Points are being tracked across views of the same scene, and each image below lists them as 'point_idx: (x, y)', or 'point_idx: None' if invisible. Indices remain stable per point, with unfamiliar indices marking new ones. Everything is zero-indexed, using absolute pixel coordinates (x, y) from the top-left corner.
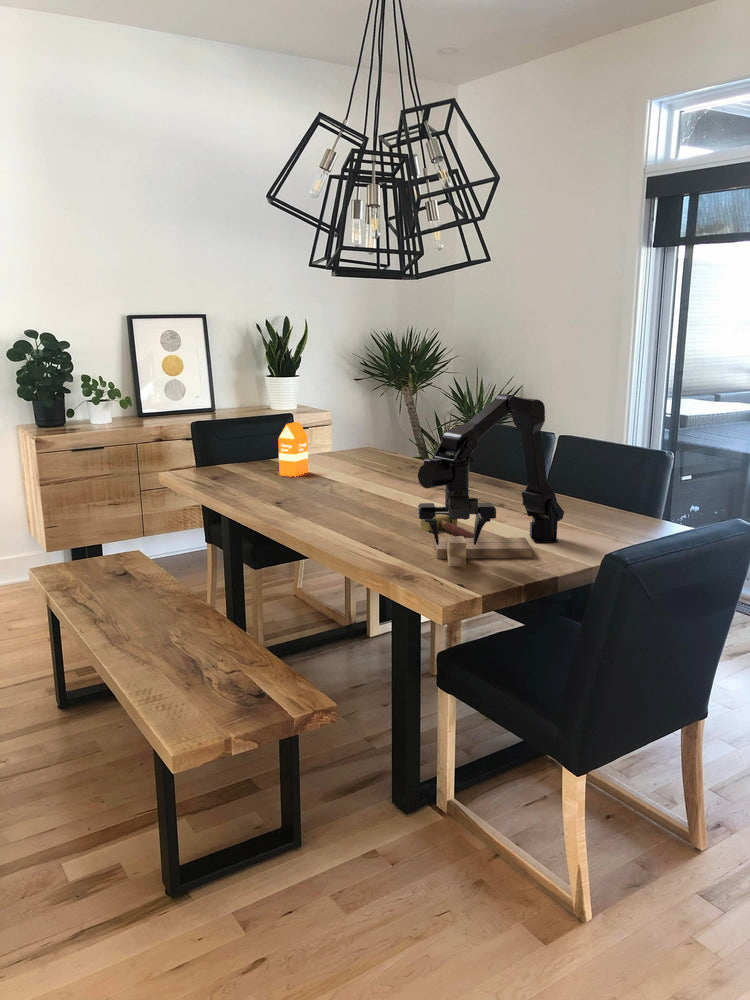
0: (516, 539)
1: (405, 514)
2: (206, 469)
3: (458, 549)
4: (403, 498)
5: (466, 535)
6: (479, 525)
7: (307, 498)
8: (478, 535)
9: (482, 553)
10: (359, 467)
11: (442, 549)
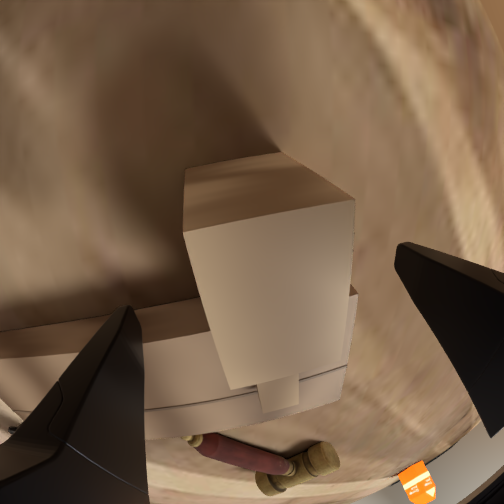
0: None
1: (340, 468)
2: (461, 437)
3: (252, 190)
4: (327, 489)
5: (225, 448)
6: (36, 447)
7: (432, 440)
8: (76, 358)
9: None
10: (349, 498)
11: None
